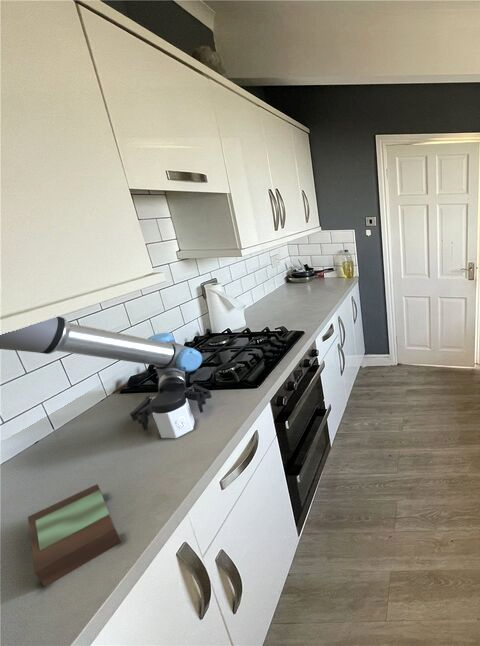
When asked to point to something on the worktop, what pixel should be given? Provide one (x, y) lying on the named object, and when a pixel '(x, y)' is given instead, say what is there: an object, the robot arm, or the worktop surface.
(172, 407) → the jar
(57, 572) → the green-topped wooden base
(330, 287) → the worktop surface
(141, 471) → the worktop surface
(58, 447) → the worktop surface
